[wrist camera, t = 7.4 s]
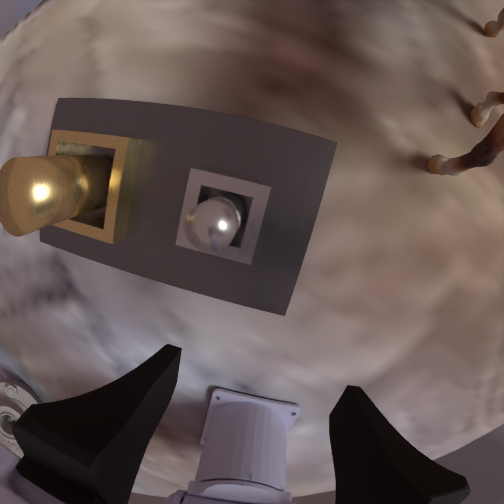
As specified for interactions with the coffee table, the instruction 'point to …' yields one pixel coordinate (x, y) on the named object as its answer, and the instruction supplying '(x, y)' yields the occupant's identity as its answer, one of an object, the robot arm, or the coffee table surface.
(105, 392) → the robot arm
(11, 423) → the valve
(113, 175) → the plate
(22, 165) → the brass fitting
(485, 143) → the horse figurine
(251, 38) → the coffee table surface
